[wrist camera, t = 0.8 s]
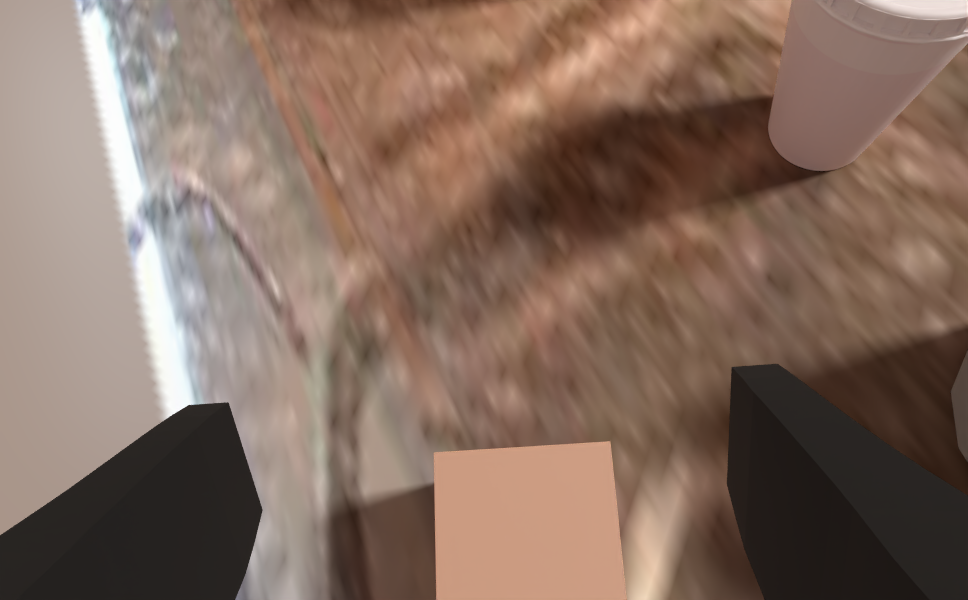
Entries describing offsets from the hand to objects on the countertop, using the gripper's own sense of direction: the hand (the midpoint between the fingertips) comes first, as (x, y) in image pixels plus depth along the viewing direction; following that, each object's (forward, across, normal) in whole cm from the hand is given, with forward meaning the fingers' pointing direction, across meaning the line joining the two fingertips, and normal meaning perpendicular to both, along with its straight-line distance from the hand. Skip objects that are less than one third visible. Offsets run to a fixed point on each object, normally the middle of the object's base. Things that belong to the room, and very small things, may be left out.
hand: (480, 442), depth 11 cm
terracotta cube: (+10, 0, +12) cm, 16 cm away
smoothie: (+21, -12, +2) cm, 24 cm away
